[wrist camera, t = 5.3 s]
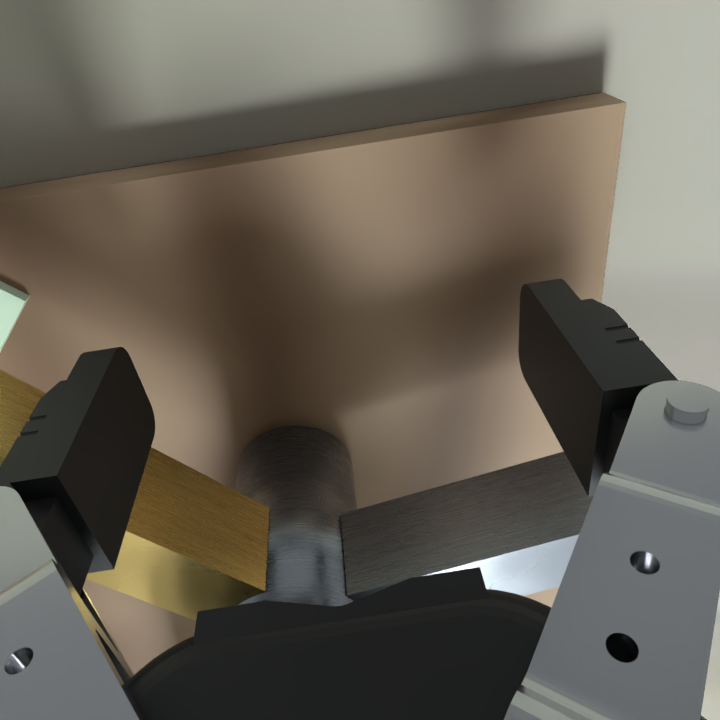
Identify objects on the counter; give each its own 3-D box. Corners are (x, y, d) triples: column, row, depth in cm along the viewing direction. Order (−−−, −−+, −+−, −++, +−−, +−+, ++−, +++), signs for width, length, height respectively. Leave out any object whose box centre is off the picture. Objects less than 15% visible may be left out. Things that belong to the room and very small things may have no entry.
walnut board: (603, 92, 14) (625, 102, 13) (548, 627, 28) (557, 651, 27) (-240, 226, 14) (-280, 246, 13) (118, 695, 28) (111, 721, 27)
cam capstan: (206, 31, 12) (106, 111, 5) (601, 391, 18) (759, 614, 12) (-110, 492, 18) (-325, 774, 12) (268, 639, 24) (258, 872, 18)
